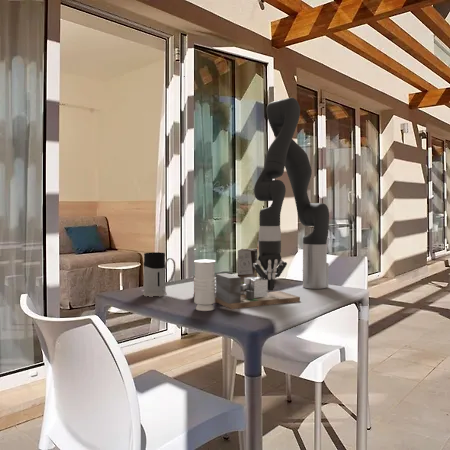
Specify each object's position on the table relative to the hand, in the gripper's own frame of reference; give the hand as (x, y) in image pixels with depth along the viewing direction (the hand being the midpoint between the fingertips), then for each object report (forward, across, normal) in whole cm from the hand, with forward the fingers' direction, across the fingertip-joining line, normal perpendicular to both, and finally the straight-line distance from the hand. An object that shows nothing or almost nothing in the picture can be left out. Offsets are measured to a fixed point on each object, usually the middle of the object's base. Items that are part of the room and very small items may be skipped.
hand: (269, 290), depth 154 cm
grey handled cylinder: (+4, +31, -25) cm, 40 cm away
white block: (+1, +7, 0) cm, 7 cm away
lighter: (+4, +18, -15) cm, 24 cm away
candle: (+4, +25, +2) cm, 25 cm away
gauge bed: (+4, +5, 0) cm, 6 cm away
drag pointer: (+1, +10, +4) cm, 10 cm away
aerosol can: (+4, -24, -44) cm, 51 cm away
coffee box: (+4, 0, -16) cm, 17 cm away
